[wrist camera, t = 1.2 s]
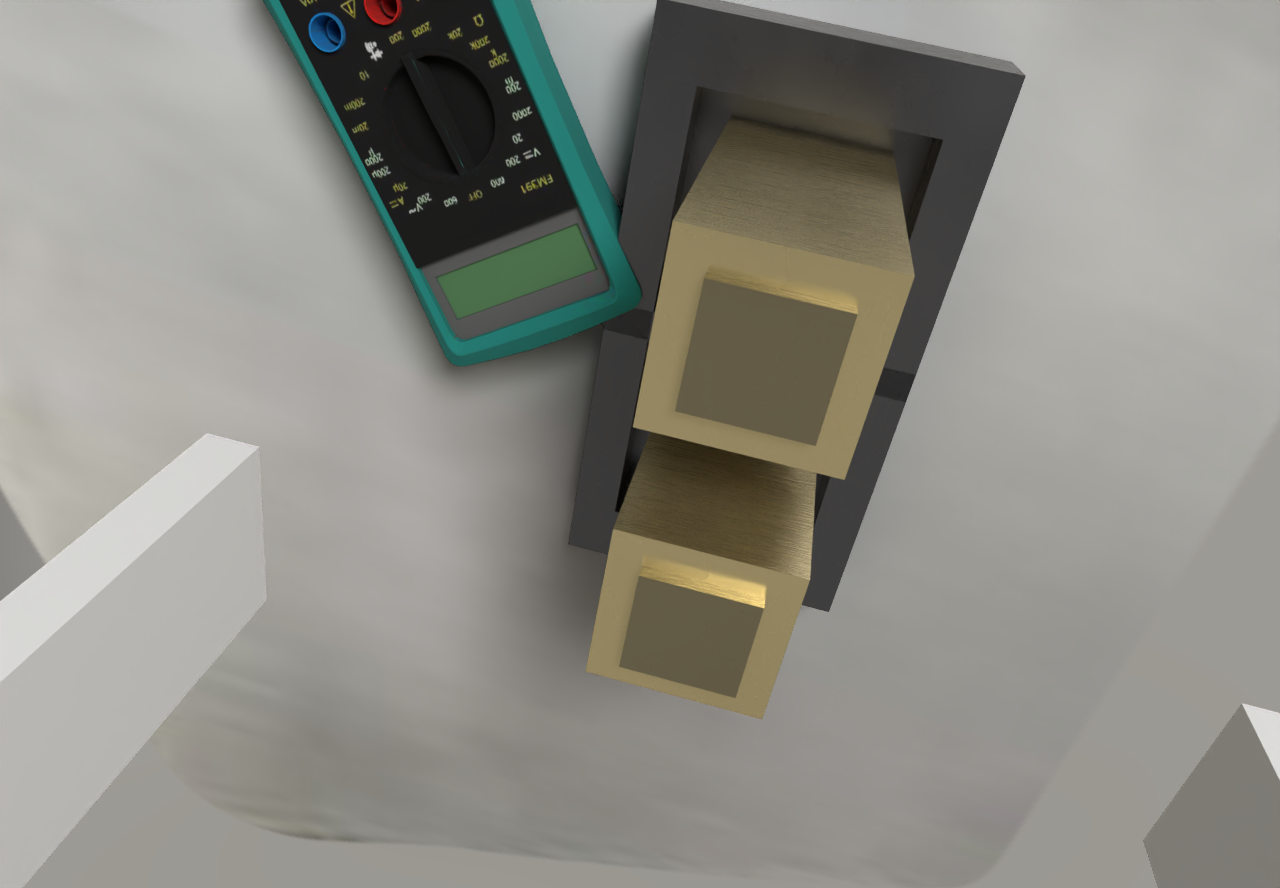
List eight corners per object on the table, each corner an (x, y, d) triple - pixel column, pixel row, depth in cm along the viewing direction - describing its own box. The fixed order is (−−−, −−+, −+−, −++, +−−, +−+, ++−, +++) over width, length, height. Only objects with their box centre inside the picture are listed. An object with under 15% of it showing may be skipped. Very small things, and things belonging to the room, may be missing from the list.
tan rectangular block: (731, 115, 29) (669, 226, 19) (893, 151, 28) (915, 282, 18) (698, 269, 31) (629, 435, 21) (846, 304, 31) (844, 489, 21)
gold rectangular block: (680, 349, 33) (609, 538, 23) (821, 383, 32) (809, 590, 23) (655, 467, 35) (582, 681, 26) (785, 500, 35) (760, 730, 25)
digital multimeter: (462, -198, 26) (422, -211, 24) (660, 286, 32) (644, 317, 29) (259, -81, 29) (203, -82, 26) (476, 349, 34) (447, 382, 32)
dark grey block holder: (672, -10, 28) (657, -3, 25) (1011, 62, 27) (1025, 75, 25) (584, 507, 37) (568, 543, 35) (829, 570, 37) (828, 612, 35)
